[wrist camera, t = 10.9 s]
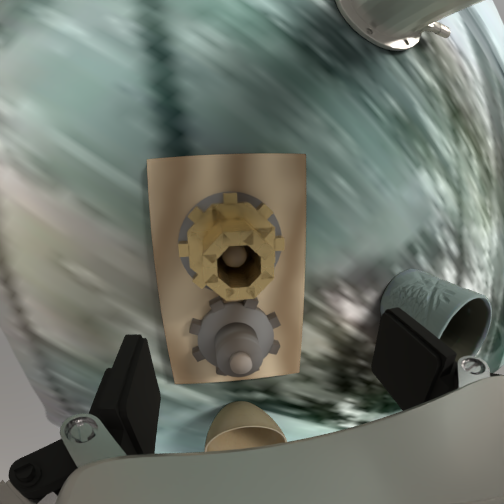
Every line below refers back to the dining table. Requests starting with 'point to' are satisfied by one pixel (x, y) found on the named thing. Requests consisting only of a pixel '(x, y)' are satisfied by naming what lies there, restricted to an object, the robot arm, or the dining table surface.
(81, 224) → the dining table surface
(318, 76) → the dining table surface
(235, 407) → the flower pot
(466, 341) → the grey cup
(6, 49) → the dining table surface
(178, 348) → the gear board
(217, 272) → the brass gear
